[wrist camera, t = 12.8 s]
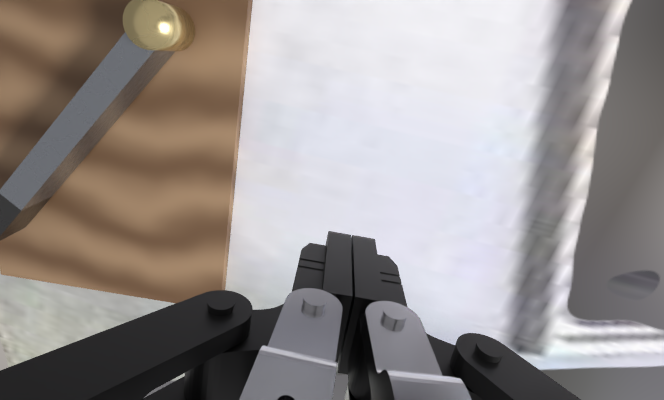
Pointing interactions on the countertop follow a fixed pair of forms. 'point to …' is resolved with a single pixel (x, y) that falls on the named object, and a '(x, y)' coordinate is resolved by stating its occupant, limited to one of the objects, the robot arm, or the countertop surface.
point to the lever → (95, 108)
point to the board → (127, 150)
